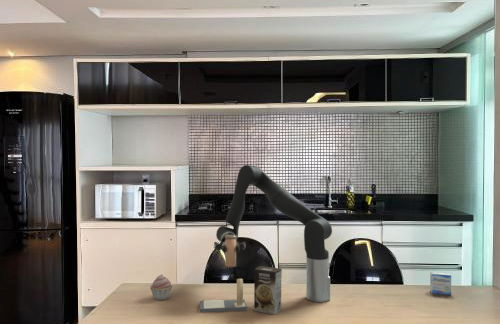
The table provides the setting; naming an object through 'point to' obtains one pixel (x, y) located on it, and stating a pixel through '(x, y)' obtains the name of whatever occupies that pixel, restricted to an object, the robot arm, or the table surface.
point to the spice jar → (230, 250)
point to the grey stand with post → (226, 302)
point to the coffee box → (267, 289)
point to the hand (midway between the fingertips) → (231, 249)
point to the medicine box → (440, 283)
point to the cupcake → (161, 288)
